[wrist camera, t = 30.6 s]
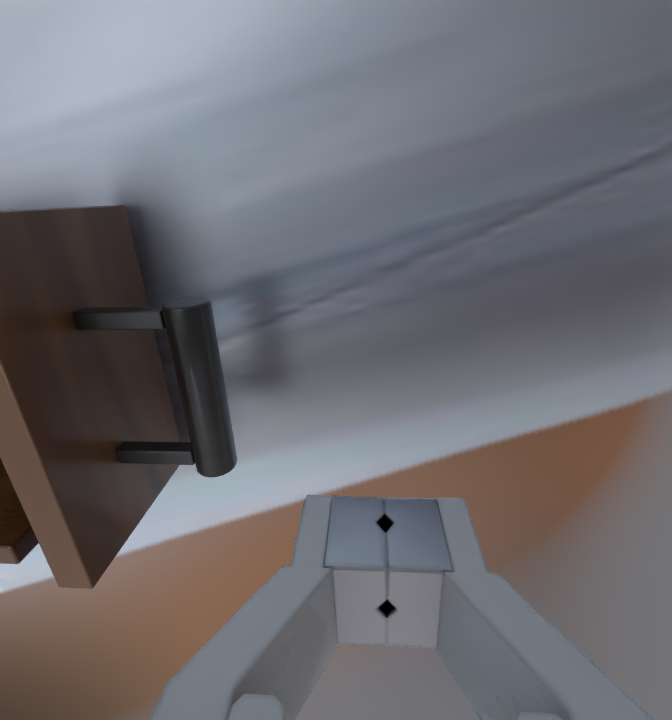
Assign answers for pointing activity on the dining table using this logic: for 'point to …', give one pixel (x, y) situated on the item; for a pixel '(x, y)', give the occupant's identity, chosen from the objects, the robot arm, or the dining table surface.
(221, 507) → the dining table surface
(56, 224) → the drawer
